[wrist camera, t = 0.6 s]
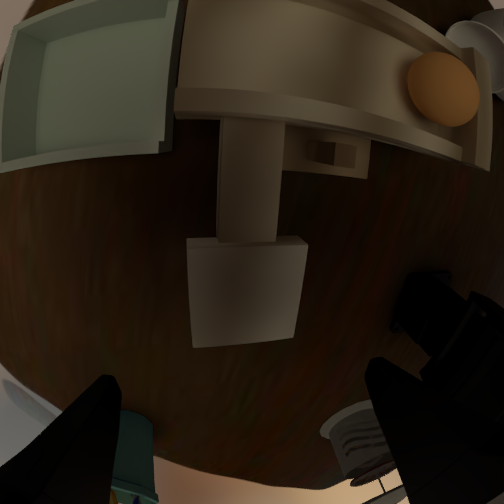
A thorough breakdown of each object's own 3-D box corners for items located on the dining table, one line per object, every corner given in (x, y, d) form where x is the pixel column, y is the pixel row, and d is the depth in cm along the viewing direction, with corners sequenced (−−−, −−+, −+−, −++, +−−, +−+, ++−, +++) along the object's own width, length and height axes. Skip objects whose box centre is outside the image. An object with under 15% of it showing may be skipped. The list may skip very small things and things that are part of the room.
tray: (184, 12, 12) (177, -20, 8) (172, 150, 16) (158, 153, 12) (45, 40, 11) (13, 26, 6) (33, 164, 14) (-4, 173, 10)
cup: (141, 381, 23) (122, 523, 9) (199, 415, 26) (205, 539, 12) (84, 418, 25) (62, 515, 11) (132, 445, 28) (124, 536, 14)
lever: (443, 64, 11) (489, 62, 8) (411, 295, 18) (446, 324, 14) (191, -13, 8) (199, -61, 4) (181, 323, 14) (184, 379, 10)
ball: (428, 69, 11) (486, 72, 8) (427, 129, 12) (487, 140, 9) (391, 42, 9) (460, 37, 6) (391, 112, 11) (465, 119, 7)
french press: (322, 413, 29) (385, 581, 6) (401, 385, 30) (482, 523, 7) (317, 444, 33) (363, 577, 10) (385, 421, 34) (444, 537, 11)
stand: (367, 29, 14) (405, 9, 9) (361, 177, 18) (402, 190, 14) (261, 4, 13) (276, -32, 8) (250, 167, 17) (264, 176, 12)
